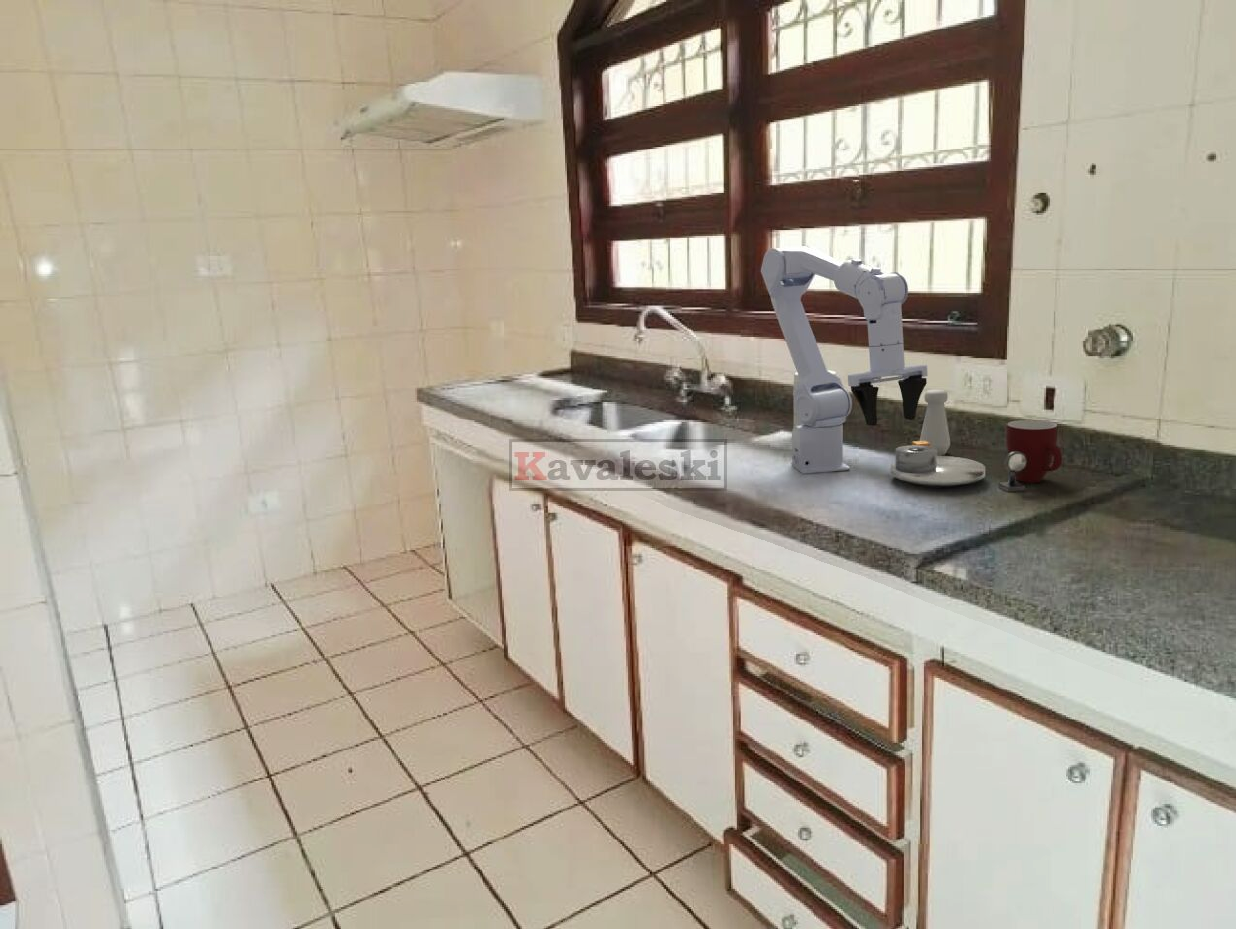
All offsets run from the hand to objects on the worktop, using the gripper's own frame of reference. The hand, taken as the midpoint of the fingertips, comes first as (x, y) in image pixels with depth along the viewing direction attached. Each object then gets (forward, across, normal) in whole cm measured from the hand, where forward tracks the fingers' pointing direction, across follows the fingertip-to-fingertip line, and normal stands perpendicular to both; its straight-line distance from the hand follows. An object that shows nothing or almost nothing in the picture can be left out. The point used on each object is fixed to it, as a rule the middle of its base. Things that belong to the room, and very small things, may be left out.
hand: (890, 422), depth 147 cm
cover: (+9, +5, +1) cm, 11 cm away
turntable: (+11, +9, +1) cm, 14 cm away
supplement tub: (+8, +8, +43) cm, 45 cm away
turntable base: (+12, +9, +1) cm, 15 cm away
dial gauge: (+13, +16, -10) cm, 23 cm away
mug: (+13, +23, -8) cm, 27 cm away
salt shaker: (+11, +20, +17) cm, 28 cm away
